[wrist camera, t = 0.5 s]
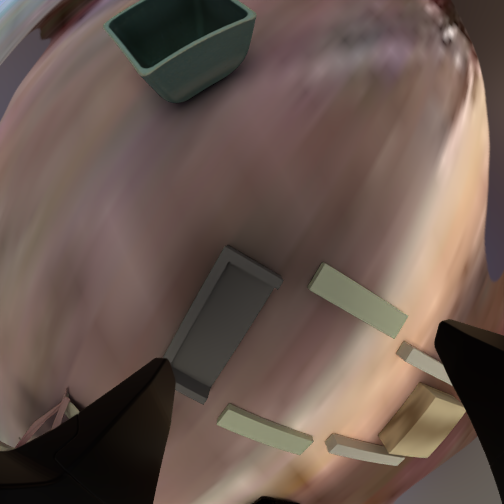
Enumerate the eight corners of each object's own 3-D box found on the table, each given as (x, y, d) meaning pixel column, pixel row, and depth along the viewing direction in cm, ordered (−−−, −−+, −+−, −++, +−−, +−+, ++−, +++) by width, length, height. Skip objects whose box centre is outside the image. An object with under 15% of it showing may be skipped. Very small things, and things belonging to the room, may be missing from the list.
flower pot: (208, 30, 21) (195, -28, 12) (258, 78, 22) (260, 14, 13) (137, 74, 21) (100, 24, 12) (177, 128, 22) (142, 78, 13)
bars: (298, 449, 24) (299, 455, 23) (217, 418, 24) (216, 424, 23) (403, 313, 23) (408, 316, 22) (322, 262, 23) (325, 263, 22)
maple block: (414, 441, 24) (427, 458, 20) (377, 433, 24) (388, 453, 20) (451, 394, 24) (467, 408, 20) (418, 380, 24) (435, 397, 20)
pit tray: (207, 390, 23) (203, 404, 21) (161, 364, 23) (152, 376, 21) (280, 275, 23) (283, 280, 20) (228, 245, 22) (224, 246, 20)
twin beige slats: (391, 456, 24) (397, 465, 22) (324, 441, 24) (328, 452, 22) (459, 373, 23) (468, 379, 21) (403, 340, 23) (413, 347, 21)
